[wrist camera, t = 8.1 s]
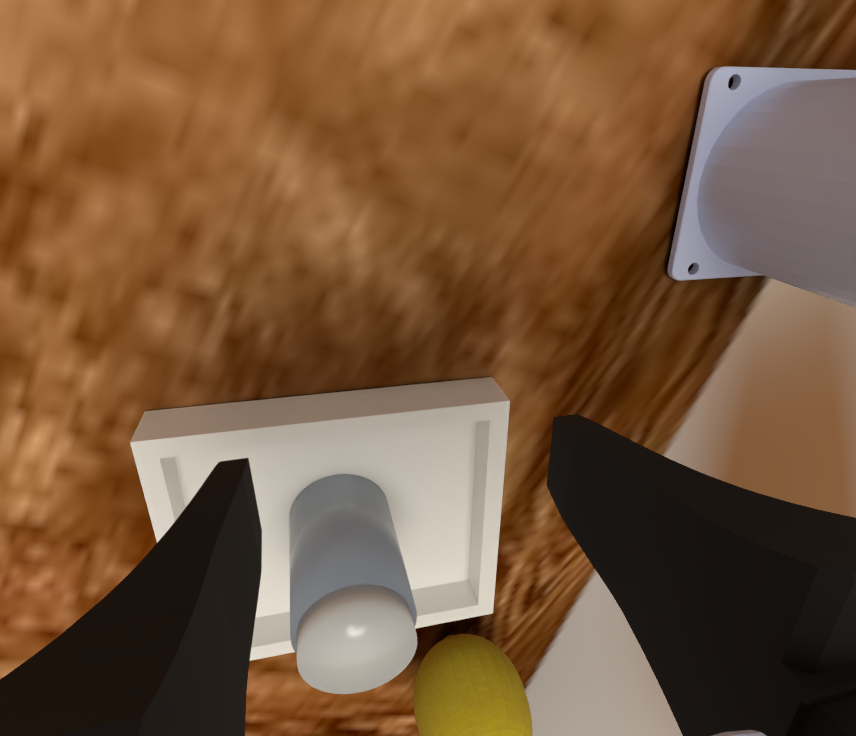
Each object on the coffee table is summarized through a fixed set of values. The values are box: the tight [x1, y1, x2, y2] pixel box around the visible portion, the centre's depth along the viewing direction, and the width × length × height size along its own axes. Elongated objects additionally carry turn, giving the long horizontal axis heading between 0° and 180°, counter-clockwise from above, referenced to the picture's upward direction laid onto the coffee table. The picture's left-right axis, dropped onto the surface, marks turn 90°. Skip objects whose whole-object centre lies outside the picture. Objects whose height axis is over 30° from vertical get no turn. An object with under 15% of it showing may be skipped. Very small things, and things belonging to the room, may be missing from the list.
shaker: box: [289, 474, 417, 694], centre depth 21 cm, size 4×4×7 cm
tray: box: [130, 377, 510, 661], centre depth 24 cm, size 14×12×2 cm
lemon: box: [414, 634, 532, 736], centre depth 27 cm, size 6×6×8 cm
